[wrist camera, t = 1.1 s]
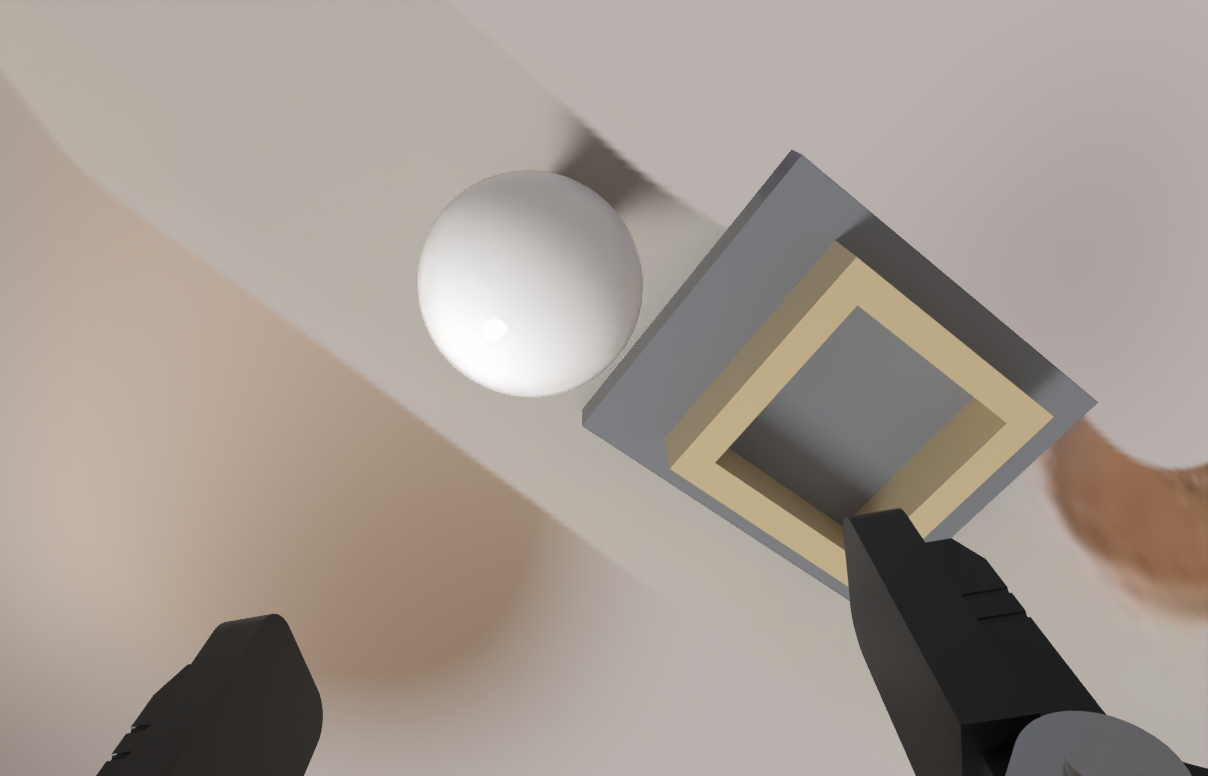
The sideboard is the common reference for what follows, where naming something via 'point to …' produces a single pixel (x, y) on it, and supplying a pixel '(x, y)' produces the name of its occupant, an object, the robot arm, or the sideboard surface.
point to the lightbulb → (529, 283)
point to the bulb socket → (830, 381)
